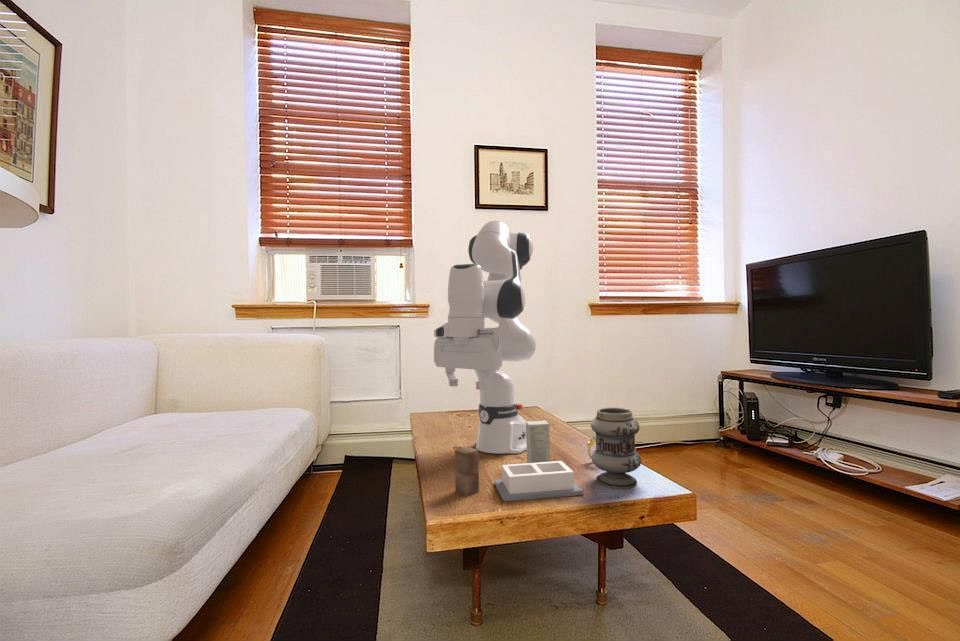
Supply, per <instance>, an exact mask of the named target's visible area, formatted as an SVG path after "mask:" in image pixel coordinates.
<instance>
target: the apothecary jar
mask: <svg viewBox="0 0 960 641" xmlns="http://www.w3.org/2000/svg"><path fill="white" fill-rule="evenodd" d="M590 428H591V430H592V431H593V432H594V433H595V434H596V442H595V450H593V452H592V453H591V458H592V459H591V458H590V459H591V461H592V463H593V464H594V466H595V467H596V468H598V469H599V470H602V471H603V472H602V473H600V474H599V475H598V474H597V476H596V477H595V479H596V480H595V481H596V482H597V483H598V484H600V485H601V486H603V487H607V488H611V489H612V488H613V489H629V488H633V487H635V486H637V484H638V481H637V479H636V478H635V477H634V476H633V475H631V474H629V473H631V472H634V471H636V470H637V469H638V468H639V467H640V466H641V464H642V457H641V456H640V454H639V452H637V450H636V441H635V440H636V439H635V438H636V436H635V435H636V434H638V433H639V431H640V429H641V428H640V424H639V422H638V420H637V419H635V418H634V416H633V412H632V409H628V408H625V407H602V408H599V409H597V410H596V416H595V417H594V418H593V419H592V420H591V421H590Z"/></svg>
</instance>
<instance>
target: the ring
mask: <svg viewBox="0 0 960 641" xmlns="http://www.w3.org/2000/svg"><path fill="white" fill-rule="evenodd" d="M594 444H596V433H595V435H592V436H591V437H590V438H589V439H588V442H586V453H587V455H588V457H589V458H590V459H591V460H592V458H591V456H592V453H591V447H592V446H593V445H594Z"/></svg>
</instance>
